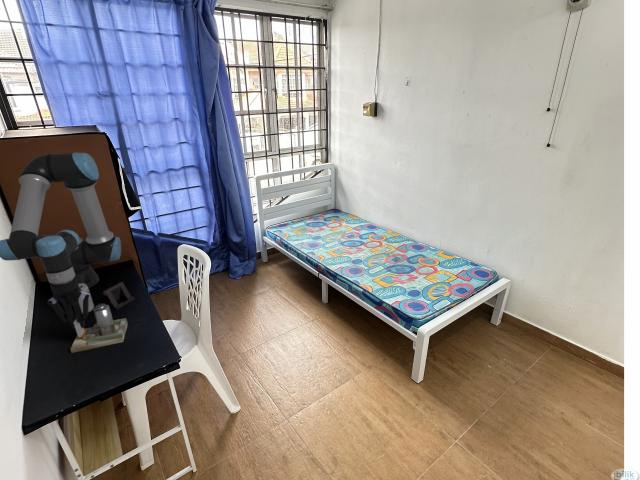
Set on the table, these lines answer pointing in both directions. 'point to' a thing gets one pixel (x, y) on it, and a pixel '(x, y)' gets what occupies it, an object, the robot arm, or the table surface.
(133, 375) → the table surface
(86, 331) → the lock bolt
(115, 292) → the dark hollow square block
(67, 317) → the robot arm
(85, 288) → the beverage can
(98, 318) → the metal bottle
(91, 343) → the dock mount
